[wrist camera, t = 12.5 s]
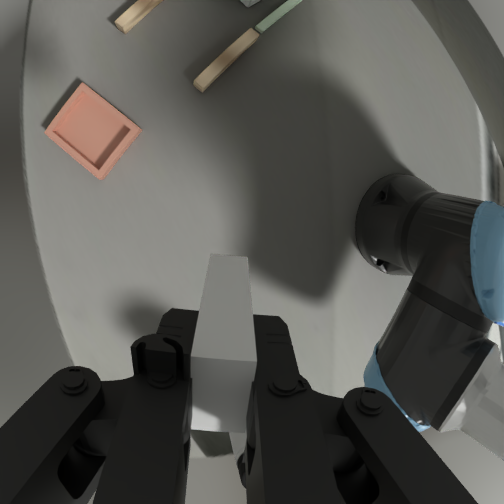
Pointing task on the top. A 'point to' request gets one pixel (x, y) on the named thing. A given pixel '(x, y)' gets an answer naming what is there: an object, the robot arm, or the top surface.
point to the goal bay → (276, 15)
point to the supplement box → (249, 2)
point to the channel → (216, 68)
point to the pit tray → (92, 131)
